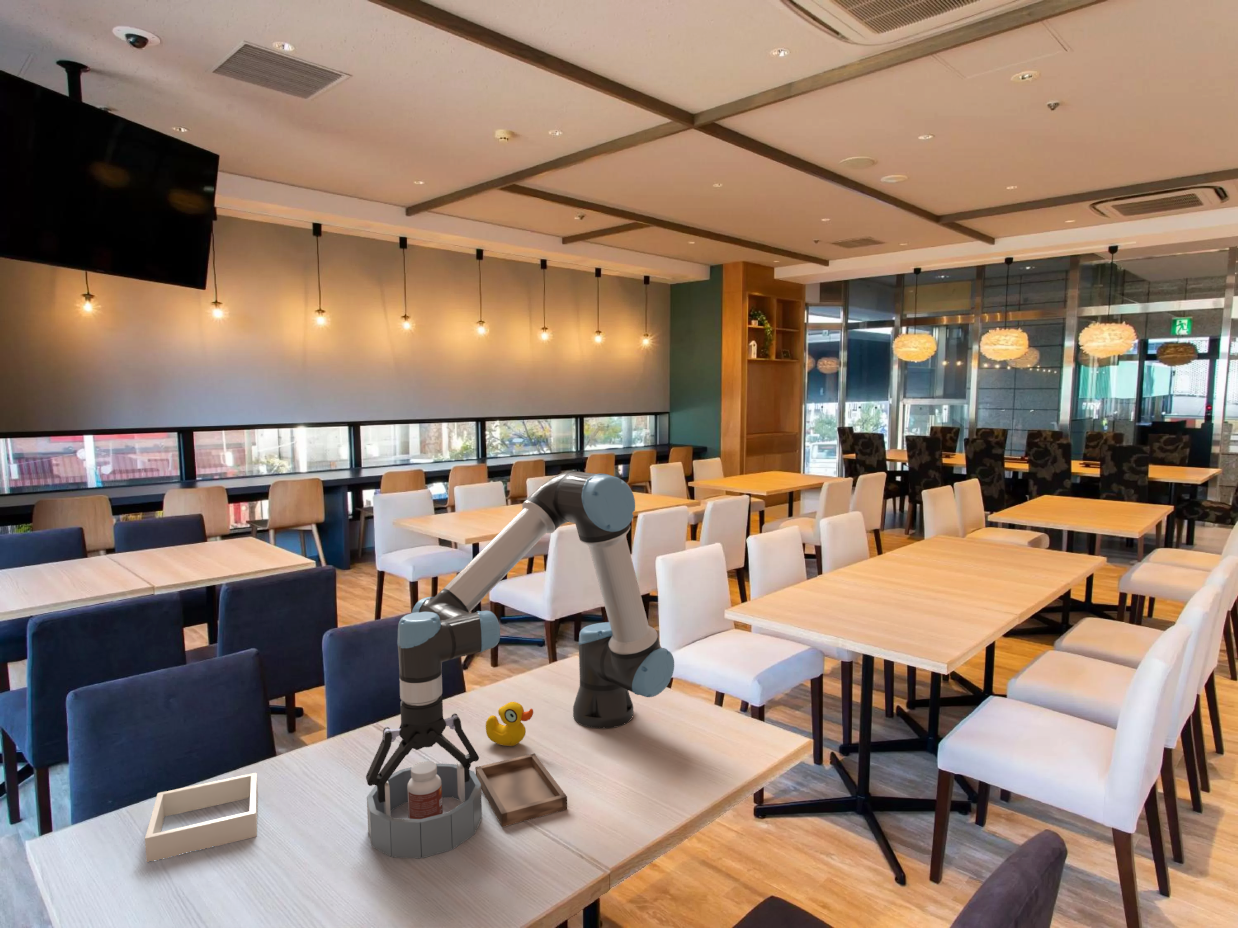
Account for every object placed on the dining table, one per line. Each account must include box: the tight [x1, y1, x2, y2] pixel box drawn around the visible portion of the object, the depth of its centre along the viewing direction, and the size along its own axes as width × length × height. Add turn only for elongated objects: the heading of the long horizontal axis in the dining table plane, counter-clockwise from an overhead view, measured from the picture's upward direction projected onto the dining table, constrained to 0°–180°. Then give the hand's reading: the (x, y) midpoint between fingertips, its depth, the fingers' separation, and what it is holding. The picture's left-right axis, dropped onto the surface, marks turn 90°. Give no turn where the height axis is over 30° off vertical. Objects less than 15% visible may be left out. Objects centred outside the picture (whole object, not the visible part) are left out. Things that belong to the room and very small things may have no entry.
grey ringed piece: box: [366, 763, 483, 859], centre depth 135 cm, size 20×20×6 cm
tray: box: [475, 753, 568, 828], centre depth 145 cm, size 13×19×3 cm
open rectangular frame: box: [144, 772, 259, 863], centre depth 135 cm, size 17×16×4 cm
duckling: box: [485, 701, 534, 747], centre depth 165 cm, size 11×5×10 cm, turn 79°
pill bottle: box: [407, 761, 444, 819], centre depth 134 cm, size 6×6×11 cm
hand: (425, 807), depth 135 cm, fingers open, 13 cm apart
